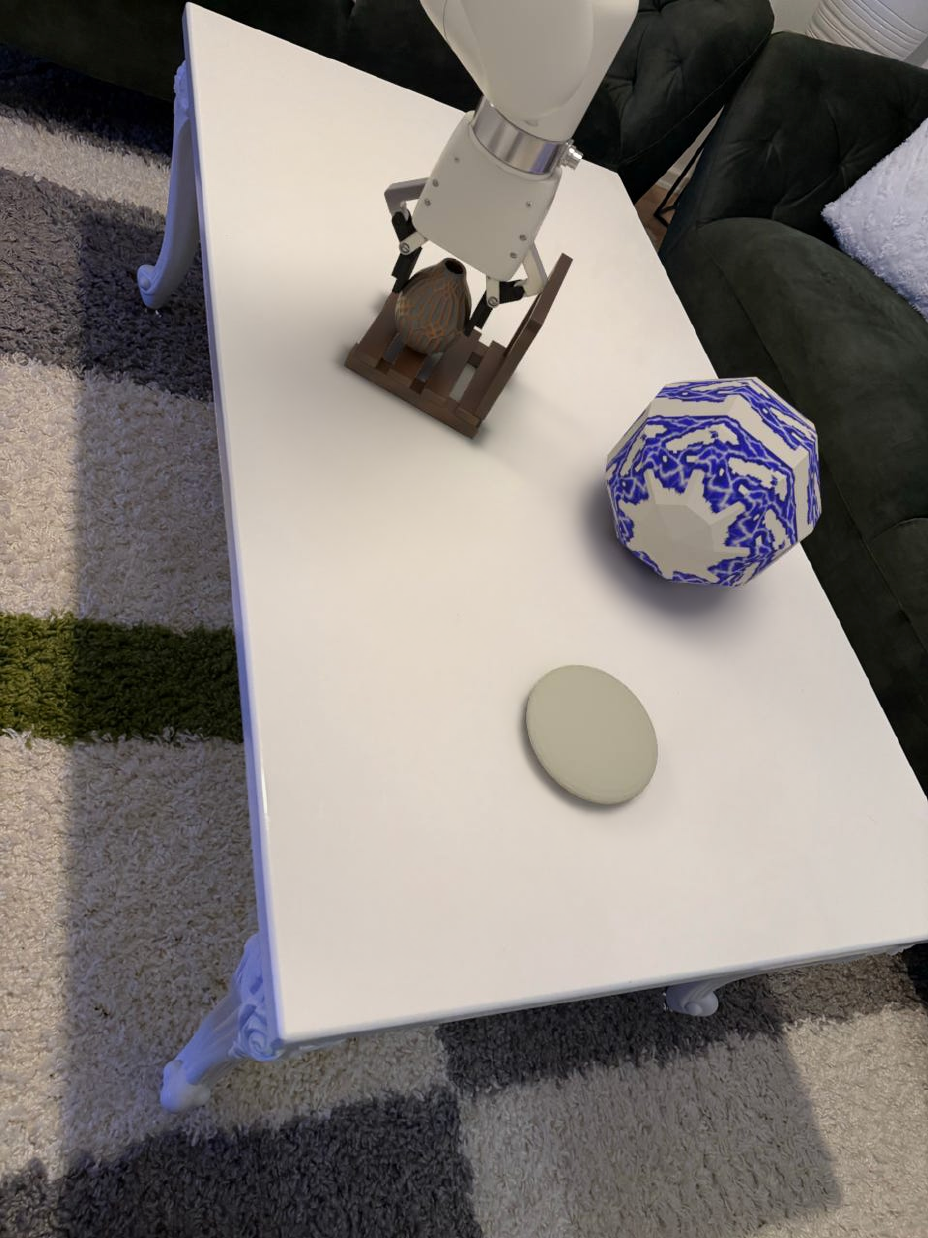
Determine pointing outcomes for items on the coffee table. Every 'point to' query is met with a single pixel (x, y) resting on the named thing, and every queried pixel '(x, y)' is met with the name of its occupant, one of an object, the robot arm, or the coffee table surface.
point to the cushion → (591, 734)
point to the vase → (434, 307)
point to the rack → (452, 362)
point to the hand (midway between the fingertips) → (435, 305)
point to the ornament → (715, 481)
